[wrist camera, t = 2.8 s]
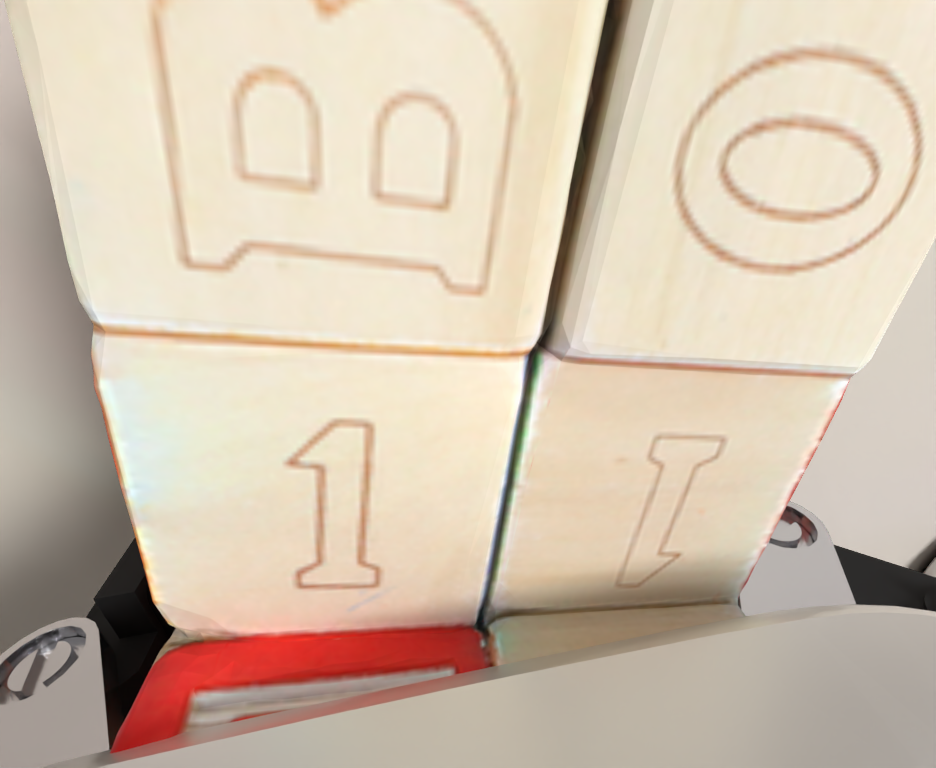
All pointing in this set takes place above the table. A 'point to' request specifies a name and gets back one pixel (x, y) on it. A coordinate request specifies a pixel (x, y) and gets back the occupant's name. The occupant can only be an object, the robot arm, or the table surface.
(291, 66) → the stack of blocks
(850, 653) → the robot arm
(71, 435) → the table surface
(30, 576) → the table surface
